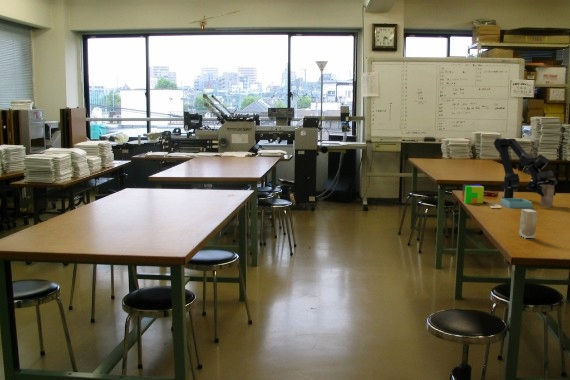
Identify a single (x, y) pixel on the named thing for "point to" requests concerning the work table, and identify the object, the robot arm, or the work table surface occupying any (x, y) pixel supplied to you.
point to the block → (547, 195)
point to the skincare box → (528, 223)
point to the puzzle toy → (472, 194)
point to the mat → (515, 208)
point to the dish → (516, 203)
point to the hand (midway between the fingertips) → (549, 195)
